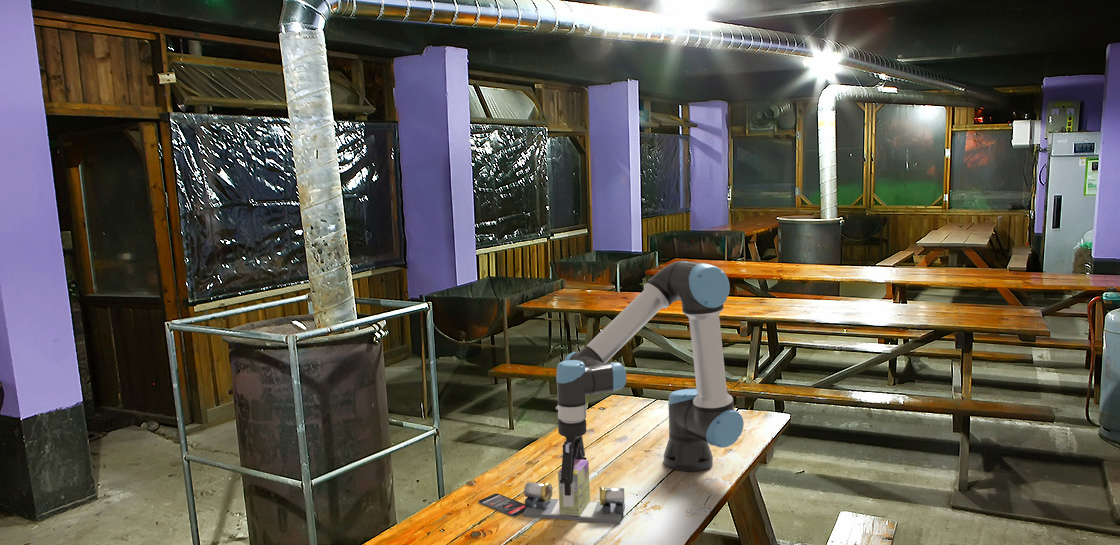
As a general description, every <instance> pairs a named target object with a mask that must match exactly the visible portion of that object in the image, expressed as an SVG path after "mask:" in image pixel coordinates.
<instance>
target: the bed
mask: <svg viewBox="0 0 1120 545" xmlns="http://www.w3.org/2000/svg"><path fill="white" fill-rule="evenodd" d="M610 505H611V514H603V505H600V501H591V500H590V501H589V503H588V504H587V505H586V507H585V508H584V510H583V511H582V513H581V514H580V516H571V515H563V514H560V512H559V498H551V499H550V503H549V504H548V505H547V506H546V507H545V508H544V509H543V510H541V509H536V504H535V505H534V506H533V507H532V508H528V507H527V508H526V509H525V511H524V513H523V514H522V515H523V517H525V518H535V519H536V518H537V519H538V518H540V519H553V520H565V521H577V522H578V521H579V522H591V523H592V522H593V523H605V524H618V525H619V524H621V521H622V514H616V504H610ZM625 508H626V503H624V504H623V510H624V511H625Z"/></svg>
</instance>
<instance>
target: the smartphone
mask: <svg viewBox="0 0 1120 545" xmlns="http://www.w3.org/2000/svg"><path fill="white" fill-rule="evenodd" d="M477 502H478V504H480V505H482V506H484V507H488V508H490V509H492V510H494V511H497V512H499V513H502V514H504V515H506V516H509V517H512V518H517V517H519V516H521V515H523V513H524V511H525V503H523V502H521V501H518V500H516V499H512V498H510V497H508V496H505V495H502V494H500V493H493V494H491V495H488V496H486V497H484V498H481V499H480V500H478V501H477Z"/></svg>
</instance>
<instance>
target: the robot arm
mask: <svg viewBox="0 0 1120 545" xmlns="http://www.w3.org/2000/svg"><path fill="white" fill-rule="evenodd" d="M730 284H731V283H730V281H729V278H728V276H727V274H726V273H725V272H724V270H722V269H721V268H720V267H718V266H715V265H712V264H710V263H705V262H704V263H703V262H694V261H689V260H688V261H687V260H678V261H674V262H672V263H669V264H668V265H666V266H665V267H663V268H662V269H660V270H659V271H658V272H656V273H655V274H654V275H653V276H652V277H651V278H650V279H649V280H648V281H647V282H645V283H644V284H643V290H642V292H640V293H639V294H638V295H637V296H636V297H635V298H634V299H633V300H632V301H631V302H629V304H628V305H627V306H626V307H625V308H624V309H623V310H621V311H620V312H619V314H617V315H616V317H614V319H613V320H611V321H610V322H609V323H608V324H607V325H606V326H605V327H604V328H603V329H602V330H601V331H600V332H599V333H598V334H597V335H596V336H595V337H593V339H592V340H590V342H588V343H587V344H586V346H584V347H583V348H582V349H581V350H580V351H573V352H571V353H568V354H567V355H566V356H565V358H564V360H562V361H560V362H559V363H558V364H557V366H556V379H555V380H556V393H557V405H556V406H555V410H556V411H557V410H558V411H557V418H558V420H557V428H558V429H557V431H558V434H559V436H563V437H565V440H564V442H563V444H562V458H561V468H562V471H561V480H560V483H562V484H563V505H564V506H569V507H574V482H573V472H574V463H575V459H582V460H587V457H585V456H586V453H585V446H584V439H583V438H584V437H583V436H584V435H586V433H587V418H586V417H587V403H586V402H587V399H586V398H587V396H589V395H596V394H603V393H608V392H610V393H611V392H615V391H619V390H621V389H623V388H624V387H625V386H626V384H627V372H626V369H625V366H624V365H623V364H622V363H620V362H618V361H617V362H615V361H614V362H612V361H611V362H608V361H610V359H611V358H612V357H614V356H615V354H616V353H617V352H618V351H620V350H621V349H622V348H623V347H624V346H625V345H626V344H627V343H628V342H629V341H630V340H631V339H632V338H633V337H634V336H636V334H637V333H638V332H639V331H640V330H641V329H642V328H643V327H644V326H645V325H646V324H647V323H648V322H649V321H650V320H651V319H652V318H653V317H654V316H656V314H658V312H659V311H661V310H662V309H667V308H668V307H669V306H671V305H672V304H673V303H674V302H677V301H681V307H682V309H681V310H682V314H684V315H685V316H687V317H688V323H689V331H690V341H691V349H692V357H693V358H692V359H693V366H694V368H693V369H694V376H695V385H696V388H685V389H677V390H674V391H672V392H670V394H669V395H668V404H667V405H668V440H667V444H666V446H665V449H664V453H663V464H664V465H665V467H668V468H670V469H672V470H676V471H682V472H699V471H700V472H701V471H704V470H708V469H709V468H711V467H712V466H713V464H714V462H713V460H714V457H713V454H712V449H711V447H710V446H713V447H717V448H722V449H725V448H729V447H731V446H733V445H734V444H735V443H736V442H737V441H738V439H739V437H741V435H742V433H743V429H744V427H745V426H744V419H743V416H742V414H741V413H740V412H739V411H737V410H735V404H734V398H733V396H732V395H731V394H729V393H728V390H727V389H728V386H727V381H726V370H725V360H724V349H723V341H722V340H723V339H722V332H721V331H722V330H721V321H720V314H721V312H722V311H724V308H725V307H724V304H725V303H726V301H727V300H728V298H727V297H728V296H729V295H730V291H731V290H730V289H731V288H730V286H731V285H730ZM566 478H568V479H566Z"/></svg>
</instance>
